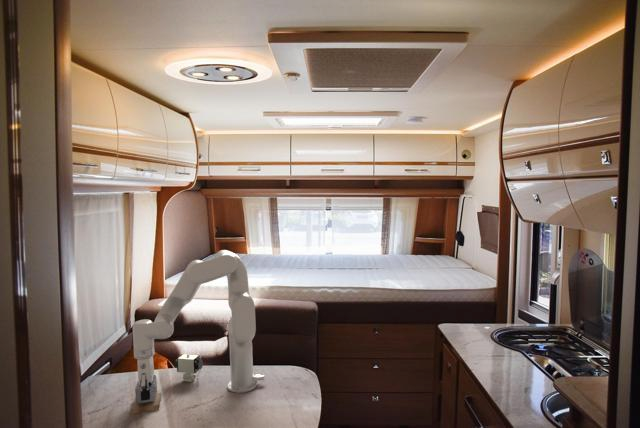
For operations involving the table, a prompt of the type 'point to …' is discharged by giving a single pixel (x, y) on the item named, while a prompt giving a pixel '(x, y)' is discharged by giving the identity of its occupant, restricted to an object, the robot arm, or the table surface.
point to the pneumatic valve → (188, 365)
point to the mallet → (146, 404)
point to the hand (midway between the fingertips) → (146, 394)
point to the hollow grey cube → (152, 392)
